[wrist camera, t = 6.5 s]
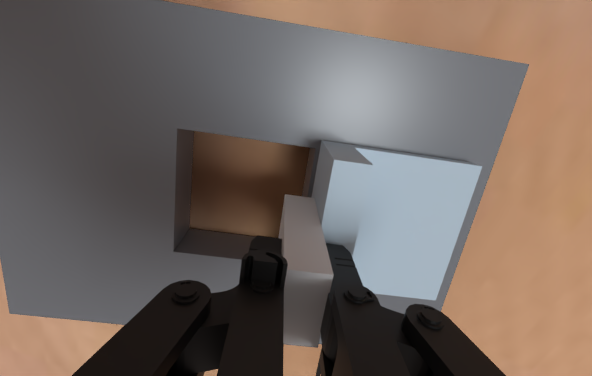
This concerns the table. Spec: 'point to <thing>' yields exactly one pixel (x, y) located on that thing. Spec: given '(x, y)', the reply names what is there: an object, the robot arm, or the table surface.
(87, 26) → the socket block
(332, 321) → the robot arm
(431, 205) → the light blue l-shaped block
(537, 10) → the table surface
